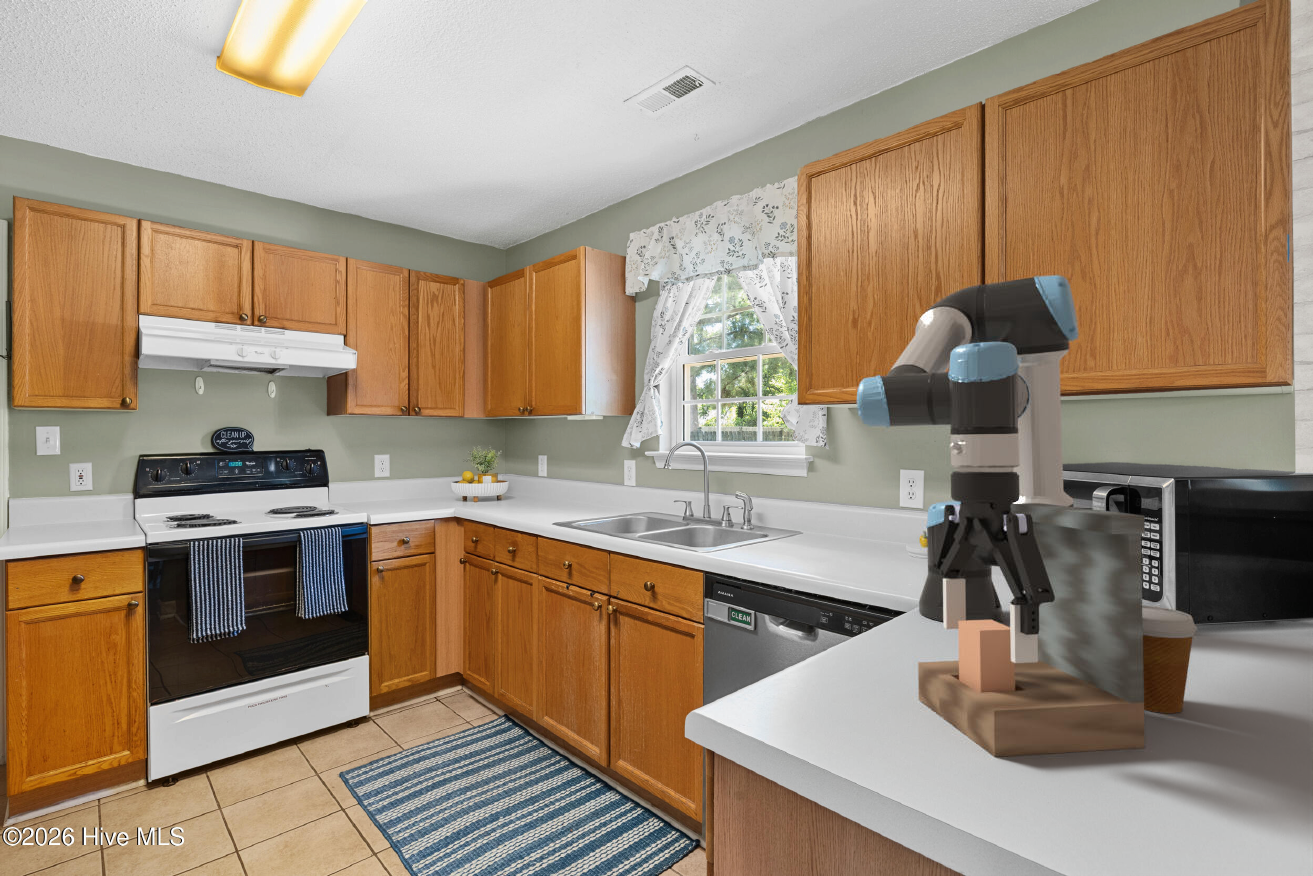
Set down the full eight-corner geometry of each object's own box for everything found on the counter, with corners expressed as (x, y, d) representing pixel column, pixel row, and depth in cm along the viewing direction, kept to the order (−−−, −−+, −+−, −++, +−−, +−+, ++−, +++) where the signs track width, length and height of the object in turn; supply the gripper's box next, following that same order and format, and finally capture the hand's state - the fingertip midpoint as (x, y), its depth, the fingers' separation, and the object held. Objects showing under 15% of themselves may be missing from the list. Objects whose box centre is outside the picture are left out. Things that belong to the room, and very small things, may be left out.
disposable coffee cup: (1100, 704, 84) (1098, 612, 85) (1115, 685, 91) (1114, 600, 91) (1194, 726, 78) (1192, 626, 78) (1203, 704, 84) (1201, 612, 85)
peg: (959, 717, 81) (958, 620, 81) (992, 715, 81) (991, 619, 81) (981, 732, 76) (979, 630, 76) (1015, 730, 77) (1014, 629, 77)
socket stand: (916, 698, 87) (914, 504, 87) (1040, 692, 89) (1038, 503, 89) (997, 759, 70) (994, 518, 70) (1148, 749, 72) (1144, 515, 72)
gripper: (904, 467, 91) (906, 617, 91) (1024, 473, 66) (1027, 681, 66) (954, 466, 92) (956, 616, 92) (1091, 473, 67) (1095, 678, 67)
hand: (986, 643), depth 79 cm, fingers open, 13 cm apart
